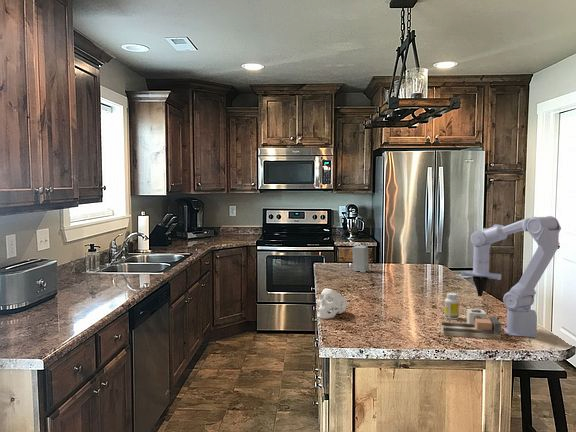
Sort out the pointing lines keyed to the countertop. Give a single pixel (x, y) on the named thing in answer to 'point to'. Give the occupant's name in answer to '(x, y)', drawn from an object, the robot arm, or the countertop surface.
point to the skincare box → (360, 258)
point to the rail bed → (472, 330)
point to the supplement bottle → (451, 306)
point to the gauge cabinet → (474, 315)
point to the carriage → (483, 324)
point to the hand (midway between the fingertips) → (480, 295)
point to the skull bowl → (331, 304)
